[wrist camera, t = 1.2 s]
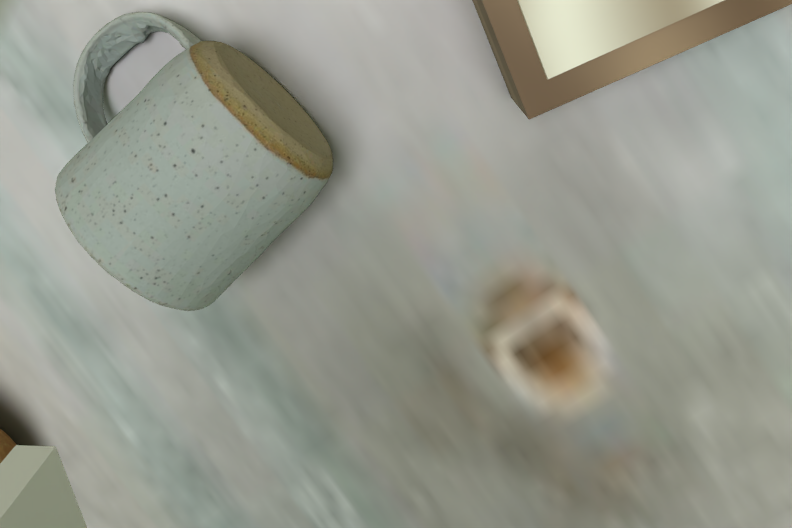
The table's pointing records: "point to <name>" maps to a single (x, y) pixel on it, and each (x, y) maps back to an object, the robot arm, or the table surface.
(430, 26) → the table surface
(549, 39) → the pedestal
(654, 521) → the table surface
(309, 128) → the ceramic mug
